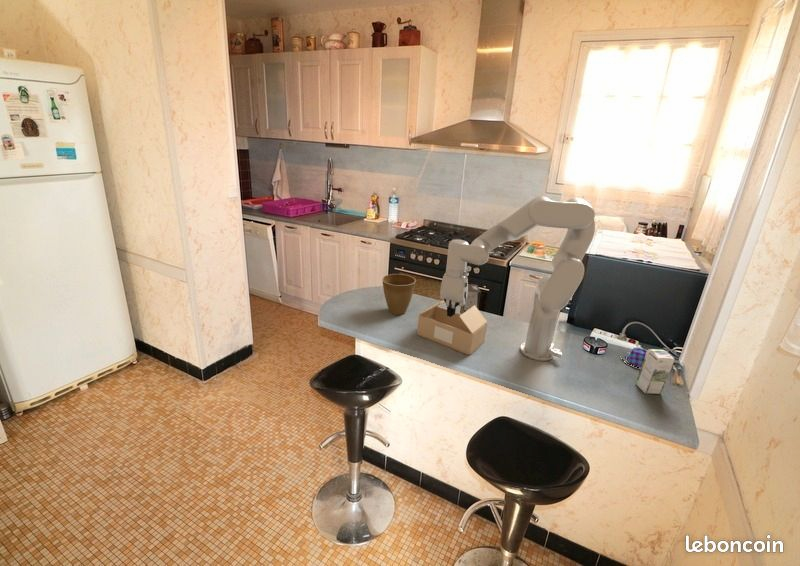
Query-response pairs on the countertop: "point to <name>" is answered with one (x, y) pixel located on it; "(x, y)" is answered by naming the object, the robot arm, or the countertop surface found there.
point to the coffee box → (471, 298)
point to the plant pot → (398, 292)
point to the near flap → (473, 319)
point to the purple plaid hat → (636, 357)
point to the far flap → (432, 306)
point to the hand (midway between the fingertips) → (450, 315)
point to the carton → (449, 331)
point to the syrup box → (654, 371)
